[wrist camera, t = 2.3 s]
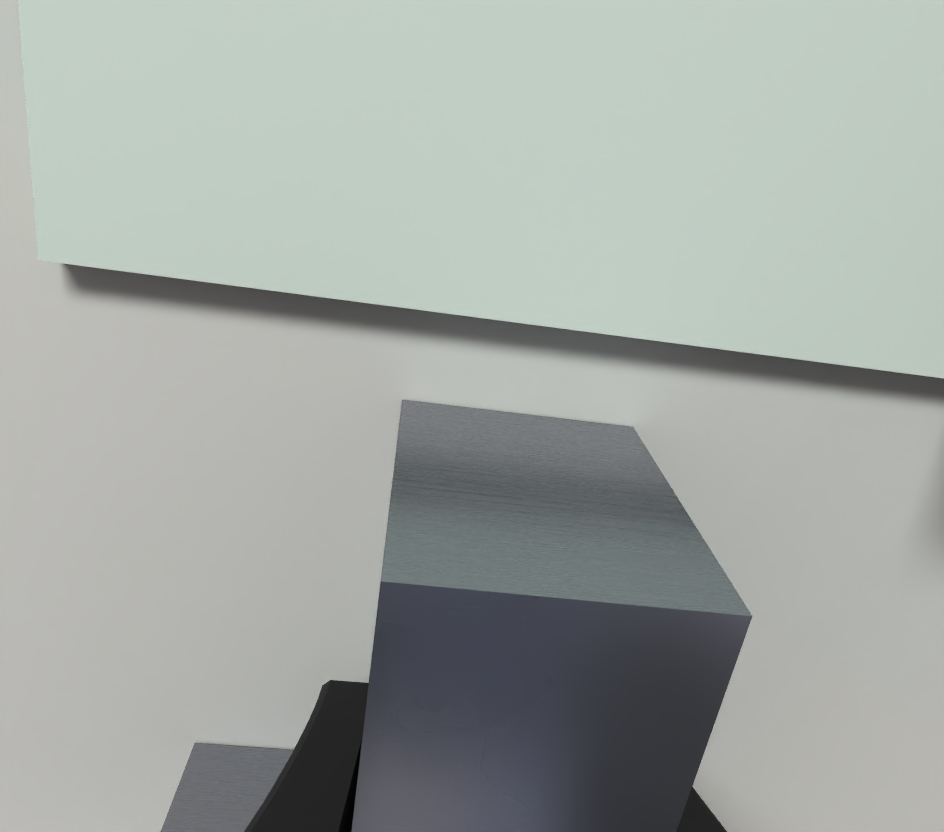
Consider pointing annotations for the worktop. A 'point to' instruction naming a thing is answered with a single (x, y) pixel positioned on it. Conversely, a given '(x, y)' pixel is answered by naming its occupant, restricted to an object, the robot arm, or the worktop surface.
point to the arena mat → (514, 160)
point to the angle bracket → (521, 641)
